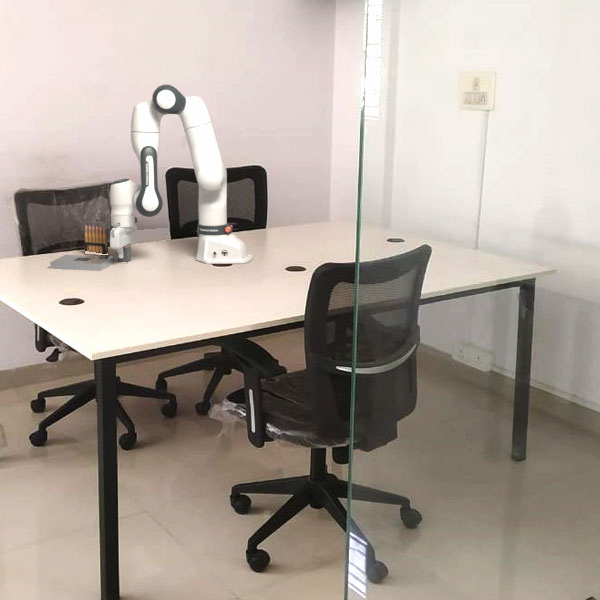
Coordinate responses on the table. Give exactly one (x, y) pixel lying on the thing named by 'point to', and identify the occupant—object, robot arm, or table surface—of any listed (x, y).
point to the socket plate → (82, 262)
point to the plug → (125, 254)
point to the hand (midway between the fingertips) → (124, 256)
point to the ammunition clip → (95, 240)
